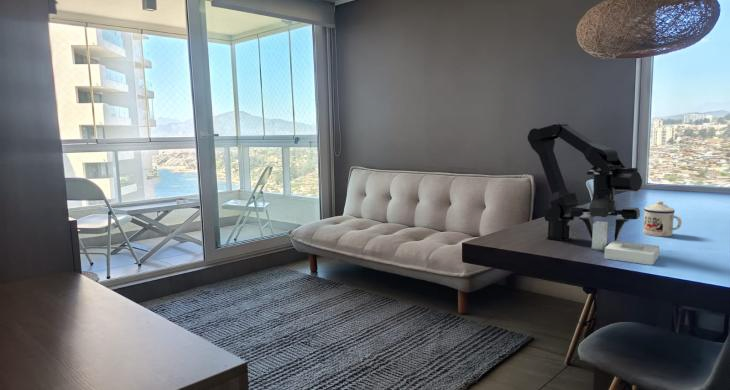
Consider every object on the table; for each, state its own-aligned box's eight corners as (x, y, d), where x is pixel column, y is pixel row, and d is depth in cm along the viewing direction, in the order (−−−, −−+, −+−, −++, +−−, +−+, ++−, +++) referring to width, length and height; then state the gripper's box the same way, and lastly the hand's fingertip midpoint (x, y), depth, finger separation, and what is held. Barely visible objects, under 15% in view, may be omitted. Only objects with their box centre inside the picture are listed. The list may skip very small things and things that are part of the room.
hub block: (604, 258, 136) (604, 248, 135) (613, 249, 145) (613, 240, 145) (652, 265, 128) (653, 254, 128) (658, 255, 138) (659, 245, 137)
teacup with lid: (636, 233, 167) (639, 200, 166) (652, 230, 172) (654, 198, 170) (671, 239, 157) (674, 205, 155) (687, 236, 161) (690, 202, 159)
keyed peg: (591, 248, 147) (593, 223, 146) (595, 245, 150) (596, 221, 149) (602, 250, 145) (604, 224, 144) (606, 247, 148) (607, 222, 147)
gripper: (564, 192, 144) (564, 242, 146) (633, 193, 133) (633, 247, 134) (574, 188, 153) (574, 235, 155) (640, 188, 141) (640, 240, 143)
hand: (603, 239), depth 146 cm, fingers open, 6 cm apart
